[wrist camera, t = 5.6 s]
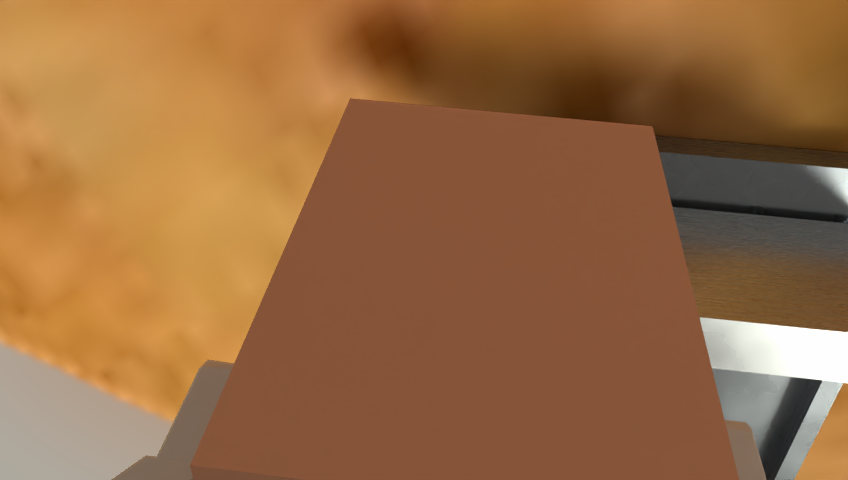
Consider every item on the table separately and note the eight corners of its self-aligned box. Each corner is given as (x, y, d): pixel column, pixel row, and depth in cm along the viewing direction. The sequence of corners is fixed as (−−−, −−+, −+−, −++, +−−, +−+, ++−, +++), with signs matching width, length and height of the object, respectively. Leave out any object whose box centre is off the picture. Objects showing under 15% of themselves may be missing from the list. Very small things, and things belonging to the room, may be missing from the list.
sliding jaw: (551, 195, 28) (555, 302, 24) (863, 224, 28) (933, 341, 23) (544, 239, 30) (546, 350, 25) (843, 269, 29) (906, 389, 24)
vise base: (516, 123, 28) (512, 243, 22) (914, 158, 28) (1021, 294, 21) (470, 494, 41) (460, 634, 35) (740, 527, 40) (776, 676, 34)
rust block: (355, 438, 15) (266, 814, 10) (350, 98, 10) (189, 464, 6) (570, 464, 14) (586, 865, 10) (652, 126, 10) (753, 537, 5)
